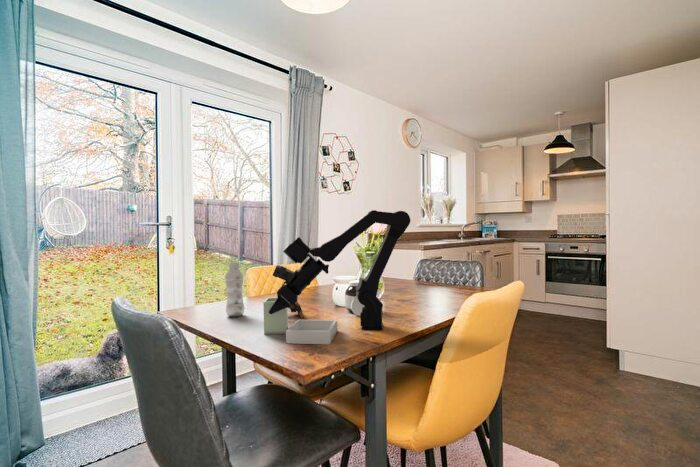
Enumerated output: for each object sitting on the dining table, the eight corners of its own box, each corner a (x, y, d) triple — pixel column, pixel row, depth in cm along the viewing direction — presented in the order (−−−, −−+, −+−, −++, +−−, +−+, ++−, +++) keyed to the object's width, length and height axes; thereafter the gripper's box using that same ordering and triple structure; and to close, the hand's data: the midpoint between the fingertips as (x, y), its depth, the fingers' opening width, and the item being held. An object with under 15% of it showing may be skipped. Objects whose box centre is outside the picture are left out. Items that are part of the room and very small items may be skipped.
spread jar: (361, 307, 143) (361, 278, 143) (381, 312, 134) (381, 281, 134) (338, 312, 135) (337, 282, 135) (357, 318, 126) (357, 285, 126)
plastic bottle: (241, 318, 129) (240, 263, 129) (223, 318, 129) (221, 263, 129) (247, 314, 136) (245, 261, 135) (229, 314, 136) (228, 262, 135)
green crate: (287, 327, 115) (287, 297, 115) (285, 333, 109) (284, 301, 109) (267, 328, 115) (266, 297, 115) (264, 334, 108) (263, 302, 108)
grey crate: (337, 331, 111) (337, 319, 111) (330, 344, 98) (329, 331, 98) (298, 330, 112) (297, 319, 112) (286, 343, 100) (285, 330, 100)
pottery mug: (302, 321, 125) (290, 302, 123) (280, 332, 127) (268, 314, 125) (308, 305, 137) (297, 288, 135) (287, 315, 138) (276, 298, 136)
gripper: (290, 254, 121) (258, 287, 120) (284, 258, 102) (246, 298, 102) (314, 276, 122) (282, 309, 121) (312, 285, 103) (274, 324, 102)
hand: (271, 309), depth 112 cm, fingers open, 9 cm apart
